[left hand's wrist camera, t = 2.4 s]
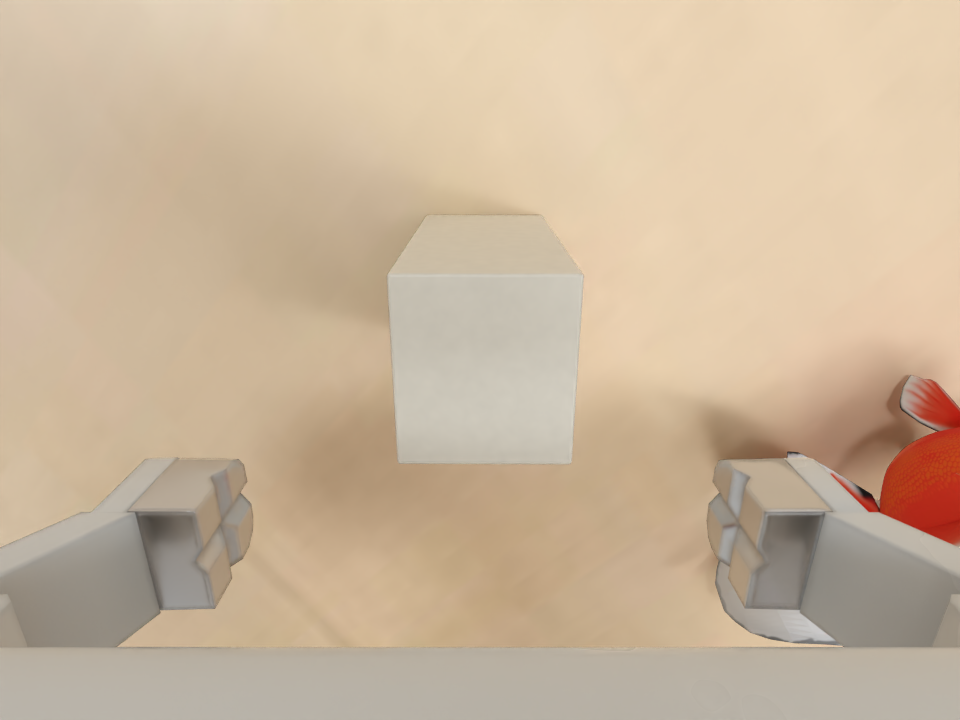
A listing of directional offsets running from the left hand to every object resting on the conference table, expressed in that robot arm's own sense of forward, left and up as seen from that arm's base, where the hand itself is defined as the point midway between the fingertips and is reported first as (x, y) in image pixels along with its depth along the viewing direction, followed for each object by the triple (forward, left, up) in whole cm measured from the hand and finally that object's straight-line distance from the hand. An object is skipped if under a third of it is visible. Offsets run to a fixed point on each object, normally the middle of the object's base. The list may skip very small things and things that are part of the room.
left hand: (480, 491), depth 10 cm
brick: (0, 0, -16) cm, 16 cm away
